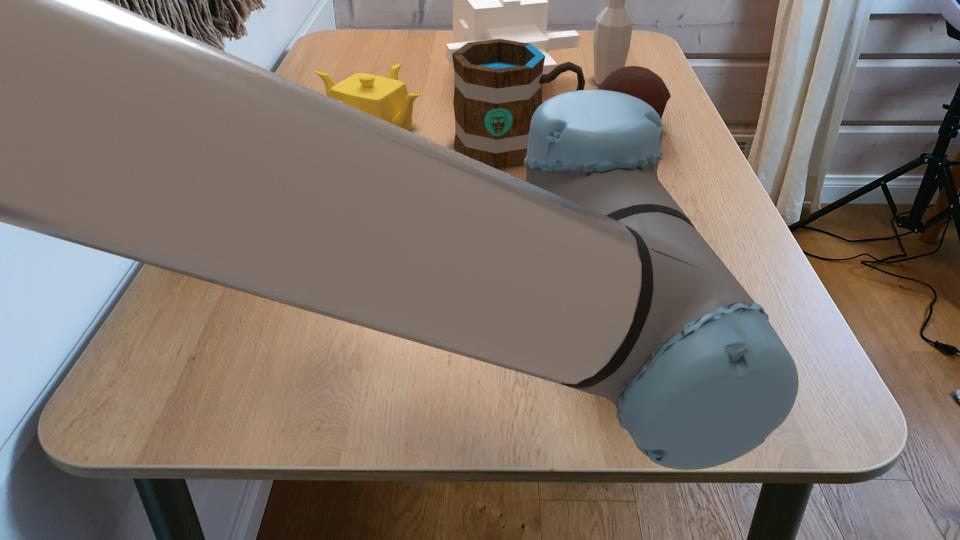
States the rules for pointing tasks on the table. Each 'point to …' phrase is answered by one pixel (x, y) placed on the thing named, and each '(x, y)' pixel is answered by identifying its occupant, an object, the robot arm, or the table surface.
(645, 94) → the muffin
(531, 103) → the mug
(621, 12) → the low poly bottle
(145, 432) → the table surface
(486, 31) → the blocky voxel creature
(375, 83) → the teapot
